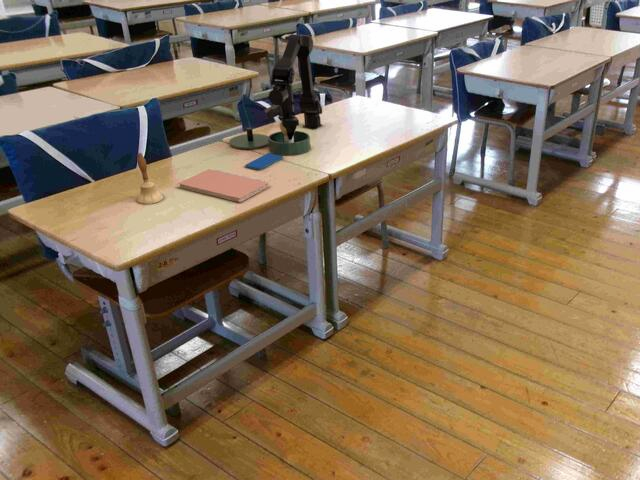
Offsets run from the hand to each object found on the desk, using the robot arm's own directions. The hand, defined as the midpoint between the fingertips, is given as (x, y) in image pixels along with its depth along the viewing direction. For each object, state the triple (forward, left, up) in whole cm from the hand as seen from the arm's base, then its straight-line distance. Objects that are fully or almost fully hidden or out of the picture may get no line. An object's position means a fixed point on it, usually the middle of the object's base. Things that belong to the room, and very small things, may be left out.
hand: (288, 137), depth 255 cm
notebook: (+6, -44, -5) cm, 45 cm away
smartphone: (+2, -18, -5) cm, 19 cm away
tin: (0, 0, -5) cm, 5 cm away
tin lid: (-18, -3, -4) cm, 19 cm away
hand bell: (-8, -65, -5) cm, 66 cm away
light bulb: (0, 0, -3) cm, 3 cm away
